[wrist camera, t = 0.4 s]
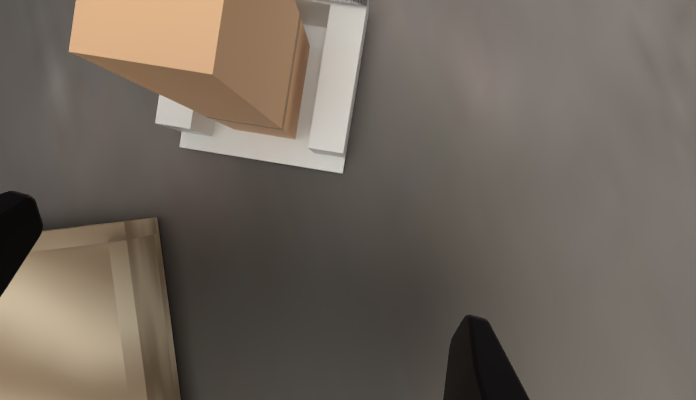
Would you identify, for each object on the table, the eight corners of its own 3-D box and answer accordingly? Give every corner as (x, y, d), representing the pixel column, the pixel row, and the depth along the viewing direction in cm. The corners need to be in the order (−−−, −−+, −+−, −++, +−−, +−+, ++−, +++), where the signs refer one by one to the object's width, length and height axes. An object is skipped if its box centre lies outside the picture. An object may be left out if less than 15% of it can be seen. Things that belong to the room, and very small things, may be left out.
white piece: (342, 173, 23) (339, 170, 19) (182, 147, 23) (141, 138, 19) (368, 14, 23) (371, -27, 18) (206, -11, 23) (170, -59, 18)
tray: (195, 512, 24) (169, 565, 20) (-95, 543, 24) (-167, 600, 21) (157, 216, 23) (124, 221, 20) (-137, 251, 24) (-218, 262, 20)
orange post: (295, 140, 23) (213, 75, 10) (233, 129, 23) (67, 52, 10) (310, 46, 22) (247, -149, 9) (248, 36, 22) (99, -172, 9)
